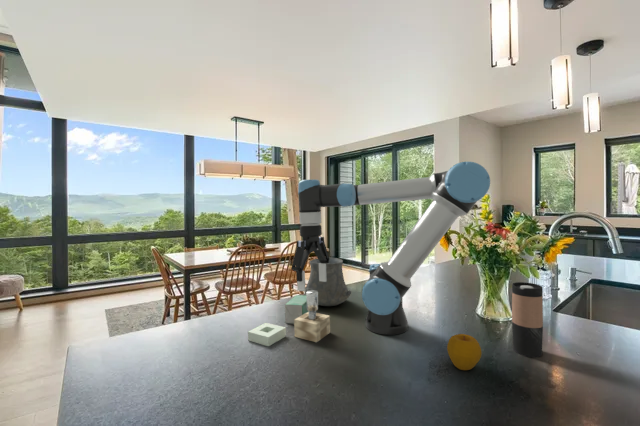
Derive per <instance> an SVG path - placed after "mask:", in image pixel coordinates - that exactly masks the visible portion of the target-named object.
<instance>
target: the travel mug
mask: <svg viewBox="0 0 640 426" xmlns="http://www.w3.org/2000/svg"><path fill="white" fill-rule="evenodd" d="M511 296H512V297H511V324H512V329H511V331H512V349H513V351H514V352H515V353H517V354H518V355H520V356H523V357H527V358H540V357H541V356H542V355H543V338H544V337H543V334H544V333H543V332H544V331H543V330H544V317H543V316H544V311H543V310H544V309H543V308H544V307H543V306H544V305H543V300H544V299H543V286H542V285H540V284H537V283H532V282H525V281H524V282H522V281H521V282H520V281H519V282H518V281H516V282H513V283H512V285H511Z"/></svg>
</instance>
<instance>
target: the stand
mask: <svg viewBox="0 0 640 426" xmlns="http://www.w3.org/2000/svg"><path fill="white" fill-rule="evenodd" d="M285 337H287V327H285V326H282V325H277V324H274V323H273V324H272V323H269V322H264V323H263V324H260V325H259V326H257V327H255V328H253V329H251V330H248V331H247V340H248V341H249V342H253V343H255V344H256V343H257V344H259V345H262V346H266V347H270V346H272V345H273V344H275V343H277V342H278V341H280V340H282V339H284V338H285Z"/></svg>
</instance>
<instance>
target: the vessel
mask: <svg viewBox="0 0 640 426" xmlns="http://www.w3.org/2000/svg"><path fill="white" fill-rule="evenodd" d="M319 263H320V261H319V260H318V258H314V259H312V260H309V265H310V266H309V267H310V273H309V277H308V282H307V284H306V285H305V290H306V291H304V292H303V294H304V295H305V296H306V292H307V291H310V290H315V291H318V306H321V307H322V306H323V307H333V306H334V307H335V306H339V305H342V303H345V302H346V301H347V300H348V299H349V298H350V296H351V295H352V291H351V290H348V287H347V285H346V282H345V279H344V273H343V263H344V260H343V259H342V258H339V257H338V258H337V257H329V263H326V278H327V281H326V282H322V281H319Z"/></svg>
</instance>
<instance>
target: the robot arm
mask: <svg viewBox="0 0 640 426" xmlns="http://www.w3.org/2000/svg"><path fill="white" fill-rule="evenodd" d="M490 186H491V178H490V175H489V172H488V170H487V169H486V168H485V167H484V166H482V165H481V164H479V163H477V162H474V161H462V162H458V163H456V164H454V165H453V166H451V167H450V168H449V169H448V170H446V171H442V172H437V173H432V174H431V175H430V176H428V177H426V176H425V177H417V178H411V179H410V178H409V179H399V180H390V181H381V182H372V183H364V184H352V183H345V182H344V183H335V184H321V182H320V180H319V179H302V180H300V181H299V182H298V191H297V192H298V193H297V195H298V196H297V197H298V213H299V216H298V217H299V224H300V226H299V235H300V237H301V238H302V240H297V241H296V248H295V252H294V257H293V260H292V261H293V262H292V265H291V271H294V272H296V276H295V277H296V285H297V286H296V289H297V291H298V292H305V291H306V290H305V289H306V273H305V271H306V270H304V268H305V266H306V263H307V261H308V258H309V256H310V255H311V254H312V253H313V252H314V254H315V256H316V259H318V260H319V261H320V263H319V281H322V282H326V281H327V278H326V263H329V258H330V255H329V253H328V249H327V246H326V244H325V237H324V236H322V225H321V224H322V210H321V209H322V208H327V207H328V208H331V207H335V208H336V207H339V208H340V207H344V208H345V207H352V206H361V205H373V204H384V203H397V202H407V201H408V202H409V201H421V200H430V199H431V200H432V201H431V203H430V204H429V206H428V207H427V208H426V209H425V211H424V213H422V215H421V216H420V218H419V219H418V220H417V222H416V223H415V225H414V226H413V227H412V228H411V230H410V231H409V233H408V234H407V235H406V236H405V238H404V239H403V241H402V242H401V243H400V245H399V246H398V247H397V249H396V250H395V251H394V253H393V254H392V255H391V257H390V258H389V260H388V261H386V262H385V261H384V262H380V263H372V264H370V265H369V270H368V272H369V278H368V279H367V281H366V282H365V284H364V285H363V287H362V290H361V298H362V299H361V300H362V301H363V304H364V306H365V308H367V310H368V311H367V314H366V316H365V327H366V329H367V330H369V331H370V332H372V333H375V334H380V335H387V336H388V335H389V336H391V335H392V336H393V335H400V334H403V333H405V332H407V331H408V329H409V322H408V318H407V316H406V313H405V309H404V306H403V297H404V296H405V295H406V294H407V292H408V291H409V290H410V288H412V281H411V279H412V278H413V276H414V275H415V274H416V272H417V271H418V270H419V268H420V267H421V266H422V265H423V263H424V262H425V261H426V259H427V258H428V257H429V255H430V254H431V252H432V251H433V250H434V249H435V248H436V246H437V245H438V243H440V241H441V240H442V238H443V237H444V236H445V234H446V233H447V232H448V231H449V229H450V228H451V227H452V226H453V224H454V223H455V222H456V220H457V219H458V218H459V217H463V216H467V214H469V212H470V211H471V210H472V208H473V207H474V206H475V205H476V203H477V202H478V201H480V200H482V199H483V198H484V197H485V196H486V195H487V193H488V192H489V189H490Z"/></svg>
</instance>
